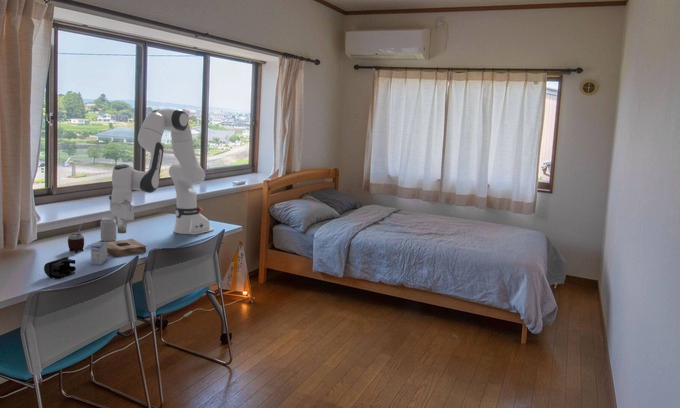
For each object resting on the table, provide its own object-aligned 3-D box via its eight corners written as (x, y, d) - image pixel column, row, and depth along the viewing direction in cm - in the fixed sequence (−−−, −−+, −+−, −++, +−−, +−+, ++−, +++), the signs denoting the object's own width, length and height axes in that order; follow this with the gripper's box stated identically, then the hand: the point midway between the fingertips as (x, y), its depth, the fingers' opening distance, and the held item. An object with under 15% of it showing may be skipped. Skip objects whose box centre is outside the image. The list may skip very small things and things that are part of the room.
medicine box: (97, 259, 244) (97, 241, 242) (107, 260, 244) (107, 241, 243) (91, 264, 236) (90, 246, 234) (101, 265, 236) (101, 246, 235)
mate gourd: (69, 249, 257) (67, 219, 254) (86, 248, 260) (86, 218, 257) (67, 253, 250) (66, 222, 247) (85, 252, 253) (84, 222, 250)
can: (110, 243, 271) (110, 220, 269) (97, 241, 273) (97, 218, 270) (119, 239, 279) (119, 217, 276) (106, 238, 280) (106, 216, 278)
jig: (132, 244, 271) (132, 238, 271) (146, 251, 260) (146, 245, 260) (100, 248, 260) (100, 243, 260) (113, 256, 249) (112, 250, 249)
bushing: (124, 231, 261) (124, 215, 260) (127, 232, 258) (127, 216, 257) (116, 232, 258) (116, 216, 257) (119, 233, 255) (119, 217, 254)
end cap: (63, 270, 226) (62, 255, 225) (76, 273, 224) (76, 257, 223) (43, 277, 217) (43, 261, 216) (57, 280, 215) (57, 264, 214)
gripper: (137, 201, 250) (137, 230, 253) (120, 194, 265) (120, 221, 267) (124, 202, 246) (124, 231, 248) (107, 195, 260) (107, 222, 263)
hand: (122, 226), depth 258 cm, fingers closed on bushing, 4 cm apart
